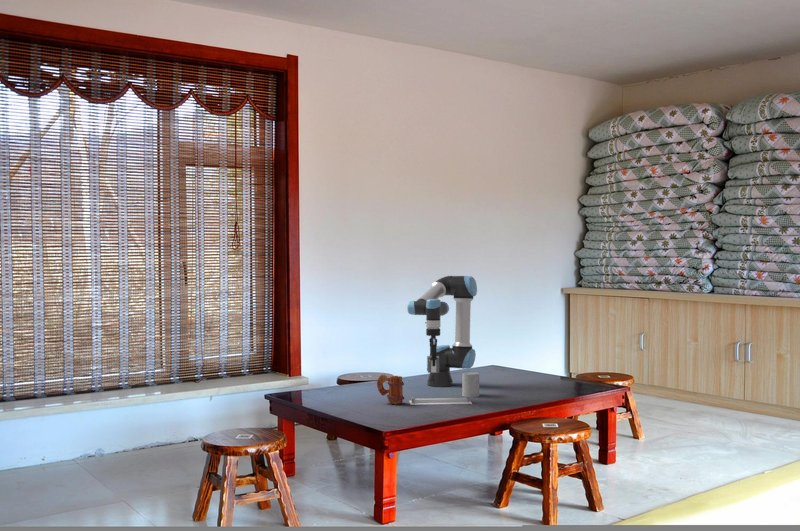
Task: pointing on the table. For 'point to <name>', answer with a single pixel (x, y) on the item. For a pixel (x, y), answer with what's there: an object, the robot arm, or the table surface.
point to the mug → (391, 388)
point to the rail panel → (440, 401)
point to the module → (430, 364)
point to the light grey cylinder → (470, 384)
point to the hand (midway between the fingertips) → (433, 371)
